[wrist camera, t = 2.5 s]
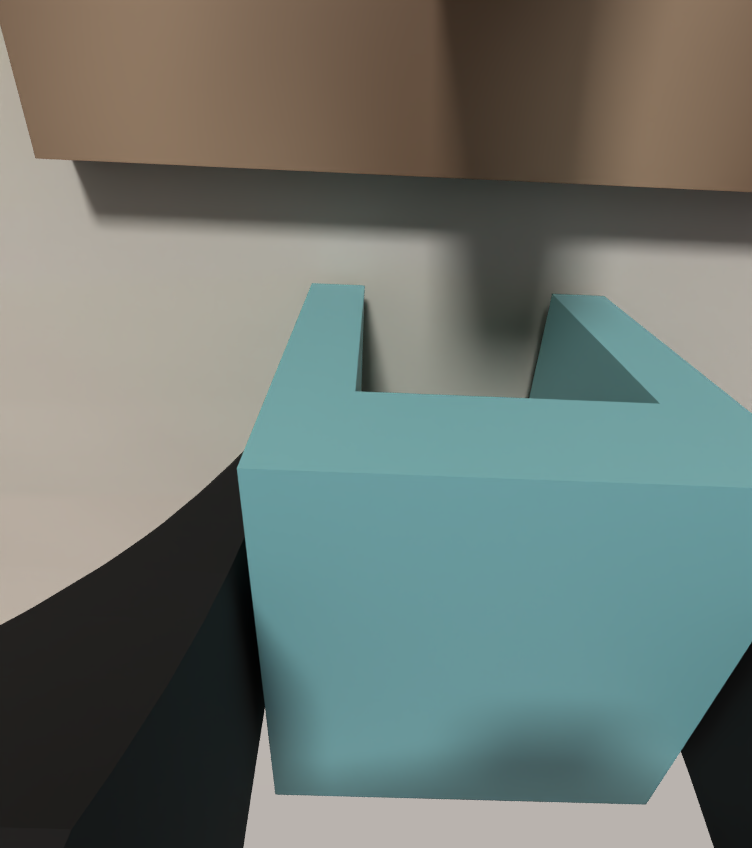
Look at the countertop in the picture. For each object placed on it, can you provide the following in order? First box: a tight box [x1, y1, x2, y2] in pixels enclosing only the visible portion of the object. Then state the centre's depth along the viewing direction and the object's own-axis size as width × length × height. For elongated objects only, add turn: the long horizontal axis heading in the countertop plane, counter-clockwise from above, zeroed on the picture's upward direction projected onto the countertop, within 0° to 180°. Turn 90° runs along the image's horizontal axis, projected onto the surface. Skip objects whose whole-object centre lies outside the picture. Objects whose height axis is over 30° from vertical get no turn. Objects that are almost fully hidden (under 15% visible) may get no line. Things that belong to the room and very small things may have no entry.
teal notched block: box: [237, 283, 752, 804], centre depth 9 cm, size 6×6×6 cm
